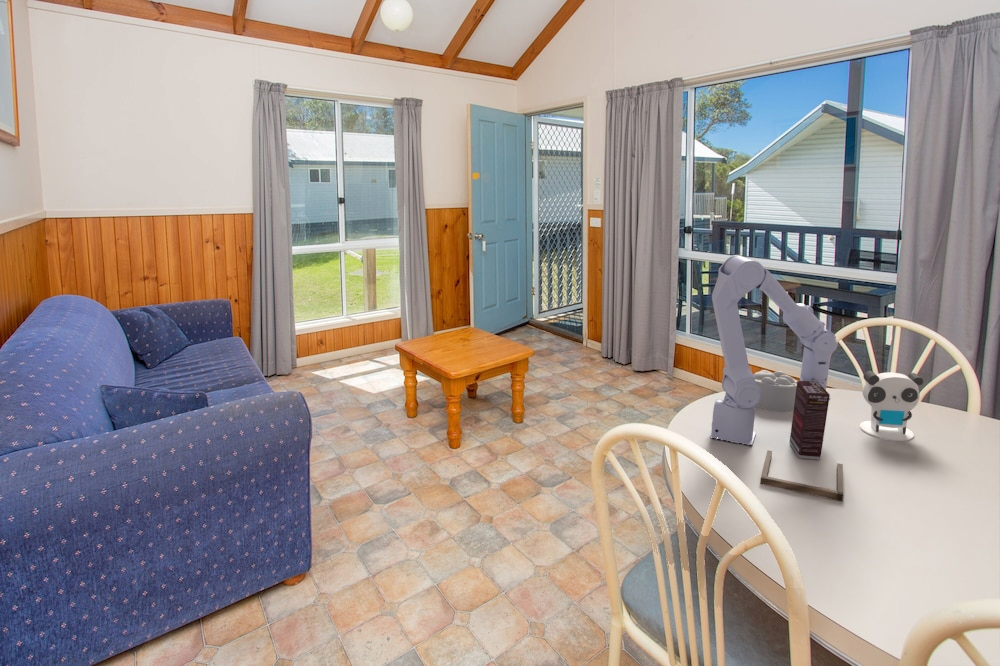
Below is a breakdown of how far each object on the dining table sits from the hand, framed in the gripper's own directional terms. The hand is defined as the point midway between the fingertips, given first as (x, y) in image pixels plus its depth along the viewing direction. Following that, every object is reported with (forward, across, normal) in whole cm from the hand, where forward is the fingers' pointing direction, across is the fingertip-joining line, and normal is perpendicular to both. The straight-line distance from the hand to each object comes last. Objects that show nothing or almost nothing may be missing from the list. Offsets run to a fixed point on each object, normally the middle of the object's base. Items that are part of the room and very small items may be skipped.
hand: (807, 429), depth 145 cm
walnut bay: (+2, -22, 0) cm, 22 cm away
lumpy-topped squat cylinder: (+2, +19, +9) cm, 21 cm away
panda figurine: (+2, +12, -17) cm, 21 cm away
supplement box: (+2, -9, 0) cm, 9 cm away
